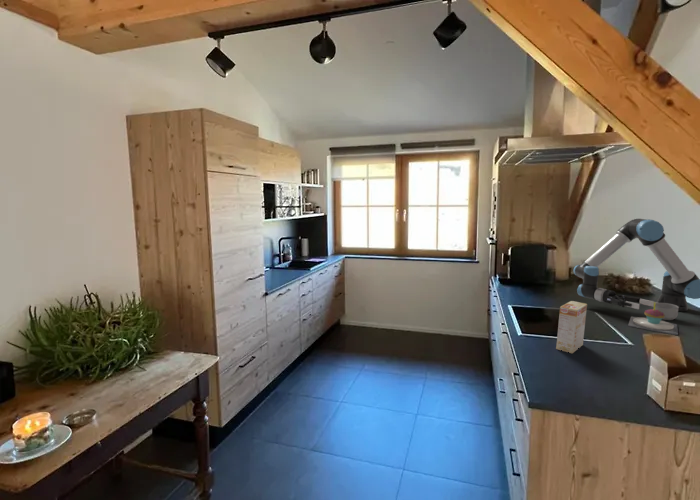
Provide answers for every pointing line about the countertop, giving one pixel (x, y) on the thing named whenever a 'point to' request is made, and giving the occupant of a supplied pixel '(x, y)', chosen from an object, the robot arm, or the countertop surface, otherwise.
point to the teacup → (667, 310)
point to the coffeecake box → (571, 326)
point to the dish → (653, 325)
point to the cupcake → (654, 315)
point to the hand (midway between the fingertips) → (646, 305)
